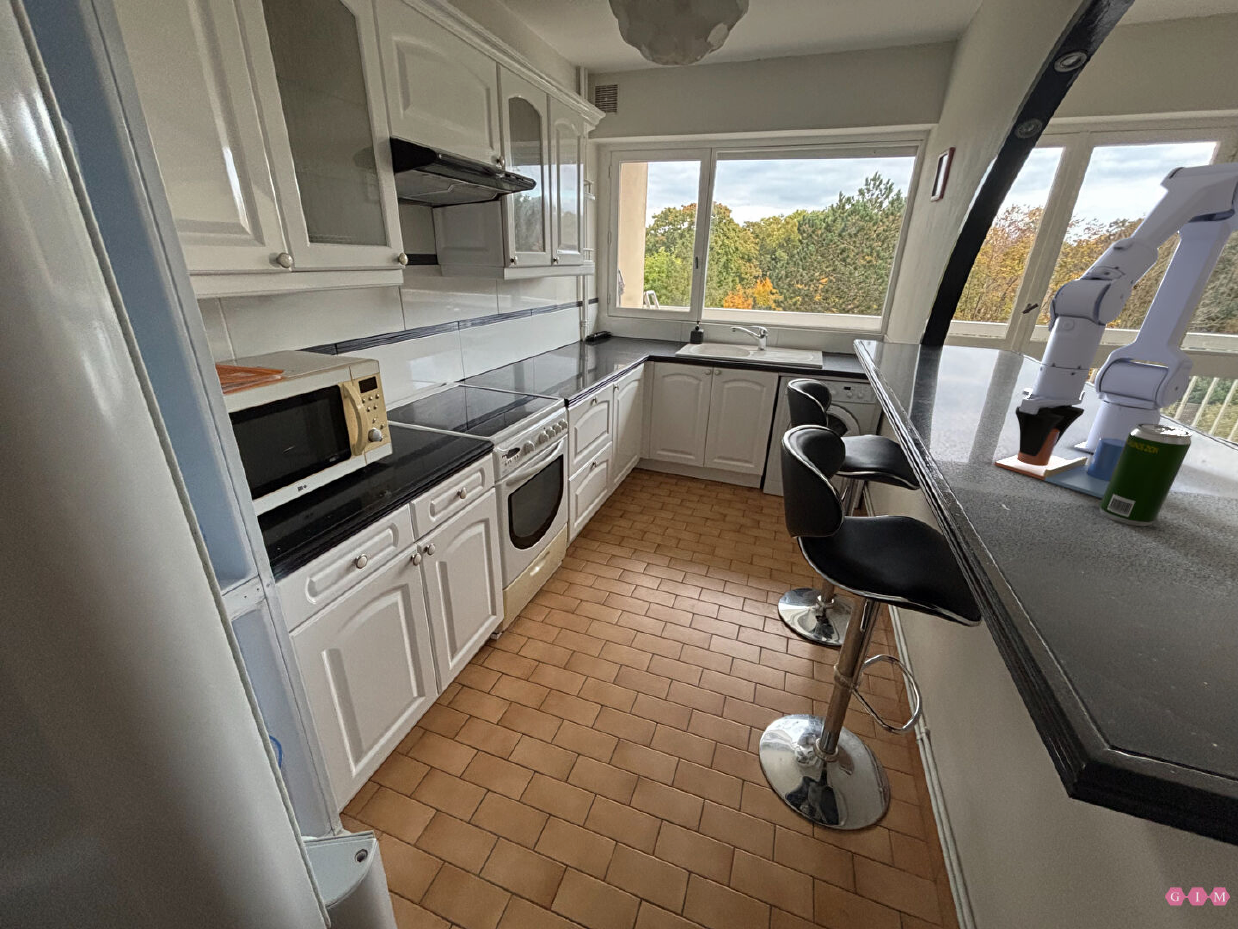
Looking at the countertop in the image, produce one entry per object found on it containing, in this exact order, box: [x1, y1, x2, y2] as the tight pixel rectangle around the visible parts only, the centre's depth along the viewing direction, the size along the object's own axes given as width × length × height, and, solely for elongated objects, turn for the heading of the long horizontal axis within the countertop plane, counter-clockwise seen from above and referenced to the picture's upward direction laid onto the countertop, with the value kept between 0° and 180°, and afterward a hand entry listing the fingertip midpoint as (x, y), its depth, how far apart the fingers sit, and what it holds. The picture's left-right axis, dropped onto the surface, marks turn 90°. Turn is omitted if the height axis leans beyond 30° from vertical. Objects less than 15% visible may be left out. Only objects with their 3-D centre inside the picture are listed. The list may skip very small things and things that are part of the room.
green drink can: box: [1099, 423, 1193, 527], centre depth 63 cm, size 5×5×12 cm
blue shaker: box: [1087, 438, 1126, 481], centre depth 76 cm, size 4×4×6 cm
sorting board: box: [993, 454, 1109, 499], centre depth 79 cm, size 12×14×2 cm
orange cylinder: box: [1017, 428, 1060, 466], centre depth 79 cm, size 4×4×6 cm
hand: (1035, 451), depth 80 cm, fingers closed on orange cylinder, 4 cm apart
